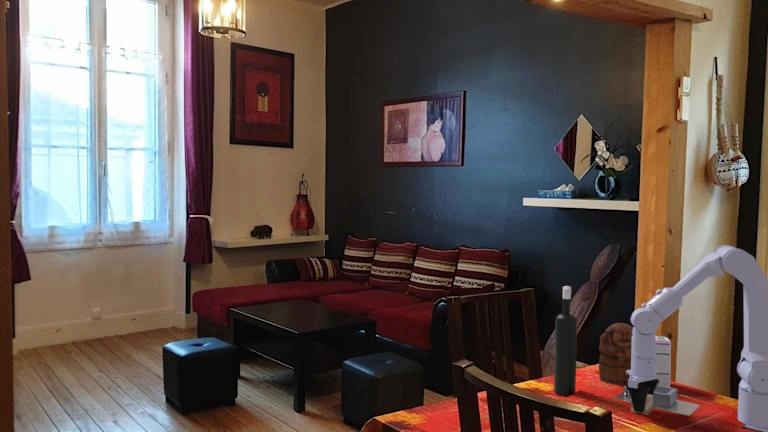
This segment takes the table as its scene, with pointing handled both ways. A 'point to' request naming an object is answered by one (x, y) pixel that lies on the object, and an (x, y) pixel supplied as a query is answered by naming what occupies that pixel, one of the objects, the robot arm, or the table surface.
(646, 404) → the block
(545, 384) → the table surface
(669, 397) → the housing slider
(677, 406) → the base plate
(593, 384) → the table surface
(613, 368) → the wooden figurine
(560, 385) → the wine bottle
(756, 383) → the robot arm
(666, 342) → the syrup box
